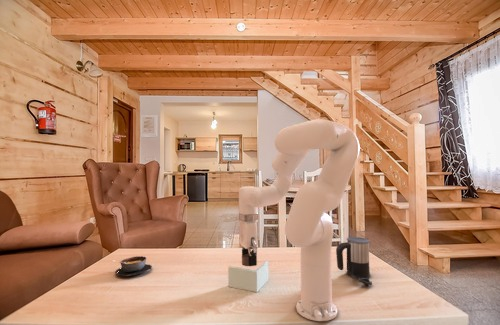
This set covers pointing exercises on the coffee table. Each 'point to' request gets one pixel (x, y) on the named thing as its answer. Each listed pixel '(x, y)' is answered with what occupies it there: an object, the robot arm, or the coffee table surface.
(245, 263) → the brown cylinder
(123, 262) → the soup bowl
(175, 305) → the coffee table surface
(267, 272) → the right angle wall
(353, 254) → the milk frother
